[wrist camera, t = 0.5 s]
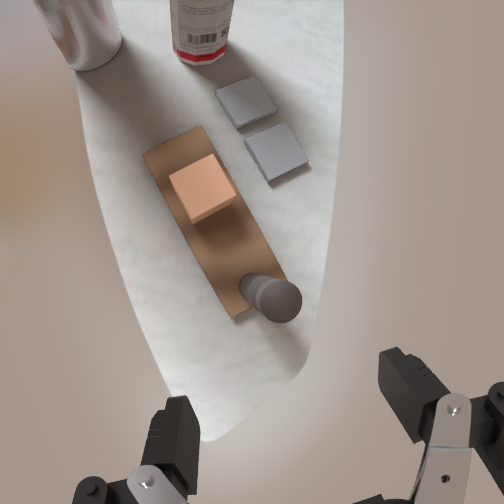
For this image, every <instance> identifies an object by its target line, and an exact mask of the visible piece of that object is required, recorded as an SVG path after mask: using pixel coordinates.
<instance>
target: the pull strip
mask: <svg viewBox="0 0 504 504" xmlns="http://www.w3.org/2000/svg"><path fill="white" fill-rule="evenodd" d="M211 154H214V156H215V158H216V160H217V161H218V163H219V165H220V167H221V169H222V170H223V172H224V174H225V176H226V178H227V179H228V181H229V183H230V185H231V186H232V188H233V190H234V192H235V194H236V197H235V199H234V200H233V202H232V204H230V205H228V206H227V207H225V208H223V209H221V210H219V211H217V212H215V213H213V214H212V215H210V216H208V217H206V218H204V219H202V220H201V221H199V222H197V223H195V224H192V222H191V220H190V218H189V216H188V214H187V213H186V211H185V209H184V207H183V205H182V203H181V201H180V199H179V198H178V196H177V194H176V192H175V190H174V188H173V186H172V183H171V180H170V178H169V175H171V174H173V173H175V172H177V171H179V170H181V169H183V168H185V167H187V166H189V165H191V164H193V163H194V162H196V161H198V160H200V159H202V158H204V157H207V156H209V155H211ZM143 157H144V159H145V162H146V164H147V166H148V168H149V170H150V172H151V174H152V176H153V177H154V179H155V181H156V183H157V185H158V187H159V189H160V191H161V193H162V195H163V197H164V199H165V201H166V203H167V205H168V207H169V209H170V210H171V212H172V214H173V216H174V218H175V220H176V222H177V224H178V226H179V227H180V229H181V231H182V233H183V235H184V237H185V239H186V240H187V242H188V244H189V246H190V248H191V250H192V251H193V253H194V255H195V257H196V259H197V260H198V262H199V264H200V266H201V268H202V269H203V271H204V273H205V275H206V276H207V278H208V280H209V282H210V284H211V285H212V287H213V289H214V291H215V292H216V294H217V296H218V297H219V299H220V301H221V303H222V304H223V306H224V308H225V310H226V311H227V313H228V315H229V316H230V318H233V317H235V316H237V315H238V314H240V313H242V312H244V311H245V310H247V309H249V308H251V307H252V306H254V307H255V308H256V309H257V310H258V311H260V312H261V313H262V314H263V315H264V316H265V317H266V318H268V319H269V320H270V321H272V322H275V323H286V322H289V321H291V320H292V319H294V318H295V317H296V316H297V315H298V313H299V312H300V310H301V306H302V296H301V293H300V291H299V289H298V288H297V287H296V286H295V285H294V284H292V283H290V282H288V280H287V278H286V276H285V274H284V272H283V271H282V269H281V267H280V265H279V263H278V261H277V260H276V258H275V256H274V254H273V252H272V250H271V249H270V247H269V245H268V243H267V241H266V239H265V238H264V236H263V234H262V232H261V230H260V229H259V227H258V225H257V223H256V221H255V219H254V218H253V216H252V214H251V212H250V210H249V209H248V207H247V205H246V203H245V201H244V200H243V198H242V196H241V194H240V192H239V191H238V189H237V187H236V185H235V183H234V182H233V180H232V178H231V176H230V175H229V173H228V171H227V169H226V167H225V166H224V164H223V162H222V160H221V159H220V157H219V155H218V153H217V152H216V150H215V148H214V146H213V144H212V143H211V141H210V139H209V137H208V136H207V134H206V132H205V130H204V129H203V127H202V125H200V126H198V127H196V128H194V129H192V130H190V131H188V132H185V133H183V134H181V135H179V136H177V137H175V138H173V139H171V140H169V141H167V142H165V143H163V144H161V145H159V146H158V147H156V148H154V149H152V150H150V151H148V152H146V153H144V154H143Z"/></svg>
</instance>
